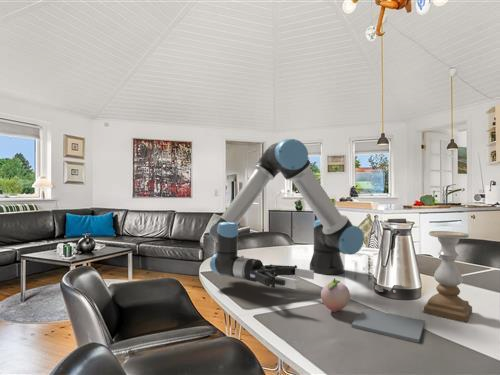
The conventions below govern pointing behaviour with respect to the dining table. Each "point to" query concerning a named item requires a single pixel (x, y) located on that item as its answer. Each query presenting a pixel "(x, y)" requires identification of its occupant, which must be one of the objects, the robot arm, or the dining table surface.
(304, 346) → the dining table surface
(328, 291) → the decorative fruit
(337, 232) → the robot arm
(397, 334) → the mat
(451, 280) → the candle holder
